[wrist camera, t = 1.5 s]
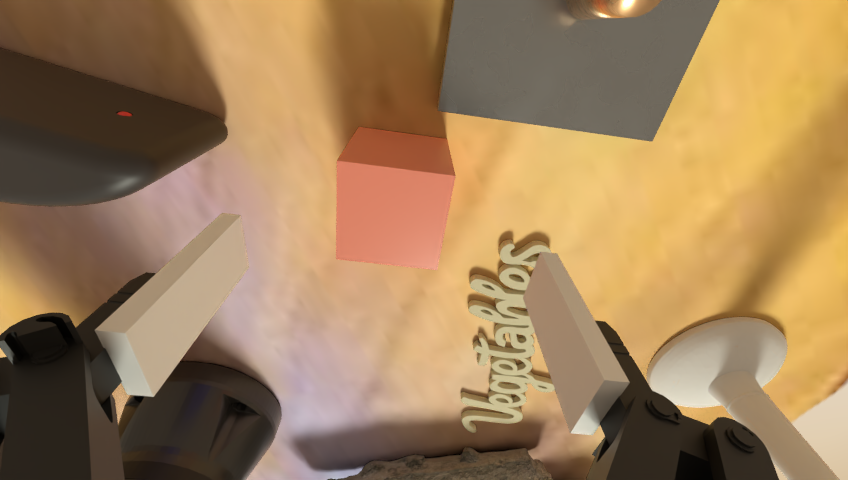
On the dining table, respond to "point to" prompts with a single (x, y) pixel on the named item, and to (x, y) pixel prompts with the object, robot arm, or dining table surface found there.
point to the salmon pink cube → (393, 198)
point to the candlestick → (736, 385)
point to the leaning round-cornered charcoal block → (88, 135)
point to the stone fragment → (458, 467)
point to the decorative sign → (507, 323)
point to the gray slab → (571, 61)
